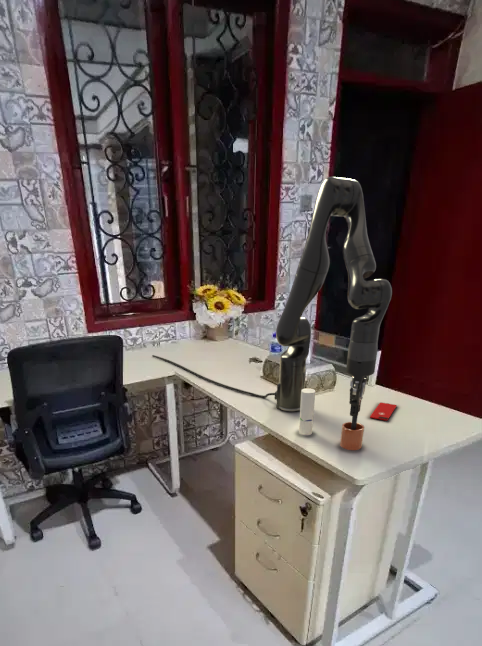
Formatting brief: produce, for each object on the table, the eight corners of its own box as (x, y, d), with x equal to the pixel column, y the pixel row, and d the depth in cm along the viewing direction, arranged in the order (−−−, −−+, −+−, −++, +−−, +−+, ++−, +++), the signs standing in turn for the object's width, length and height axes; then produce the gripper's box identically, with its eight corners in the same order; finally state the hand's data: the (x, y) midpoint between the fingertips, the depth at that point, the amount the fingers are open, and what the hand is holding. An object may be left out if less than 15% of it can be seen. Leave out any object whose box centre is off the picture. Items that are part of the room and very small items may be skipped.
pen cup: (338, 449, 126) (340, 428, 123) (342, 440, 131) (344, 420, 128) (359, 453, 123) (362, 432, 120) (362, 444, 128) (365, 423, 125)
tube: (301, 429, 139) (304, 387, 133) (314, 432, 137) (317, 389, 130) (296, 434, 136) (299, 391, 129) (309, 437, 134) (312, 393, 127)
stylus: (348, 446, 126) (352, 409, 121) (349, 444, 127) (353, 408, 122) (353, 446, 126) (357, 410, 120) (354, 444, 127) (358, 408, 121)
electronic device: (380, 403, 155) (369, 417, 145) (380, 402, 155) (369, 416, 144) (396, 406, 152) (387, 421, 141) (396, 404, 152) (387, 419, 141)
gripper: (352, 349, 121) (346, 403, 129) (342, 362, 110) (336, 421, 118) (379, 350, 118) (371, 406, 126) (372, 364, 107) (364, 425, 115)
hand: (354, 413), depth 122 cm, fingers open, 3 cm apart
